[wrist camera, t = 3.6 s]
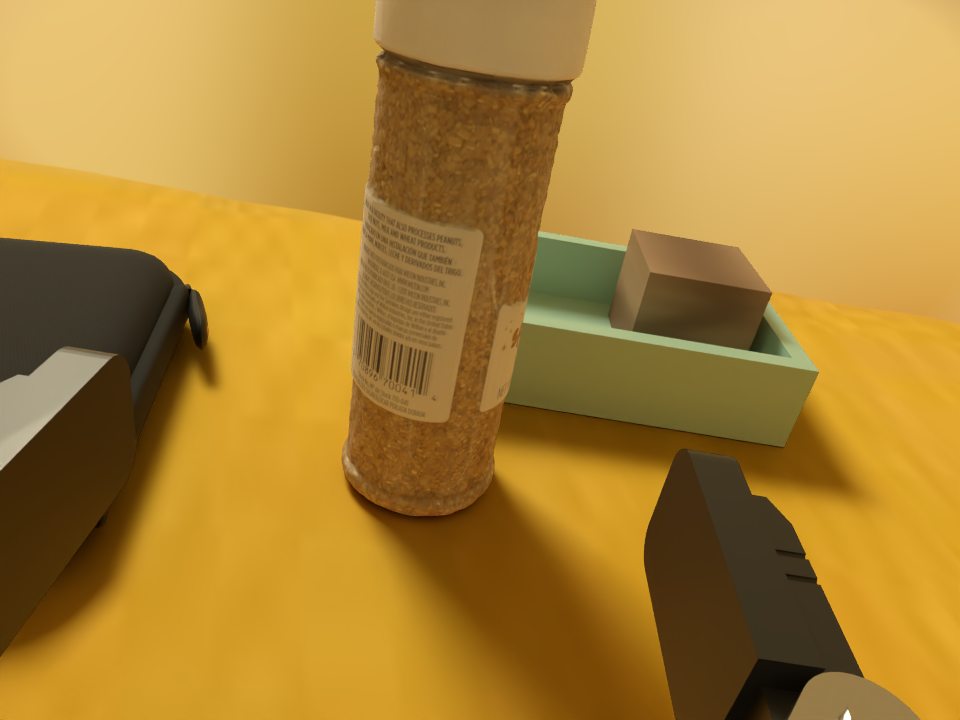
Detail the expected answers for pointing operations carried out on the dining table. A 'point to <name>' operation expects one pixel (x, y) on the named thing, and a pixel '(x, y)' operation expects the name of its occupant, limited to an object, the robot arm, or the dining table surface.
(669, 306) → the copper block
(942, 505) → the dining table surface
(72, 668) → the dining table surface
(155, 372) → the carrying case or bag
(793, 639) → the robot arm
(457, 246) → the sprinkles bottle
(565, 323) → the tray
